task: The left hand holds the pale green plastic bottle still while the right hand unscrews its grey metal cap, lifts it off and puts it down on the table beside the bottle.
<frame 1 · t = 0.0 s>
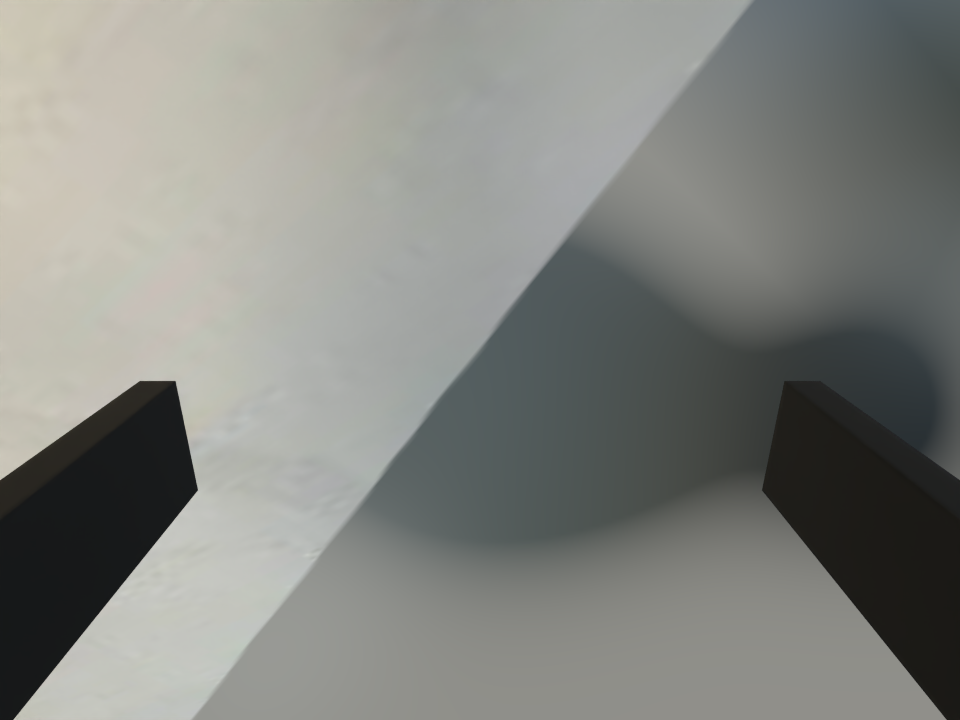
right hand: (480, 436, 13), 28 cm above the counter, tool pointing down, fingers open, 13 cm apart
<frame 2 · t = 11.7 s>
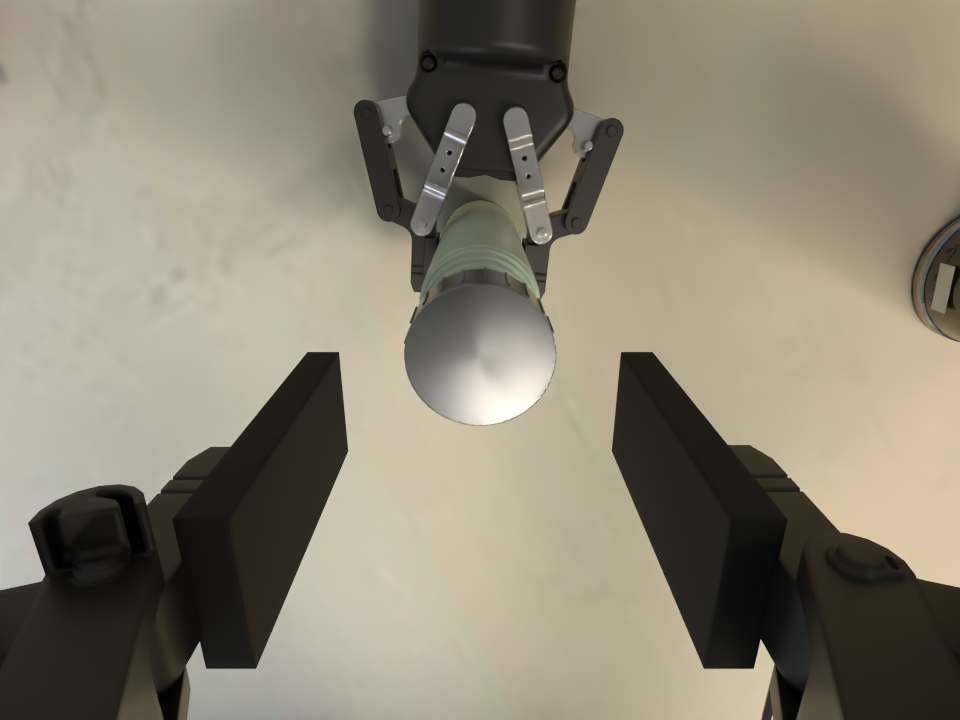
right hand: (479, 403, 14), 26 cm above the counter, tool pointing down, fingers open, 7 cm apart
left hand: (476, 301, 33), fingers closed on bottle, 4 cm apart
cap: (480, 354, 17), point 23 cm above the counter, screwed on, not yet turned
bottle: (480, 237, 39), on the counter, touching left hand
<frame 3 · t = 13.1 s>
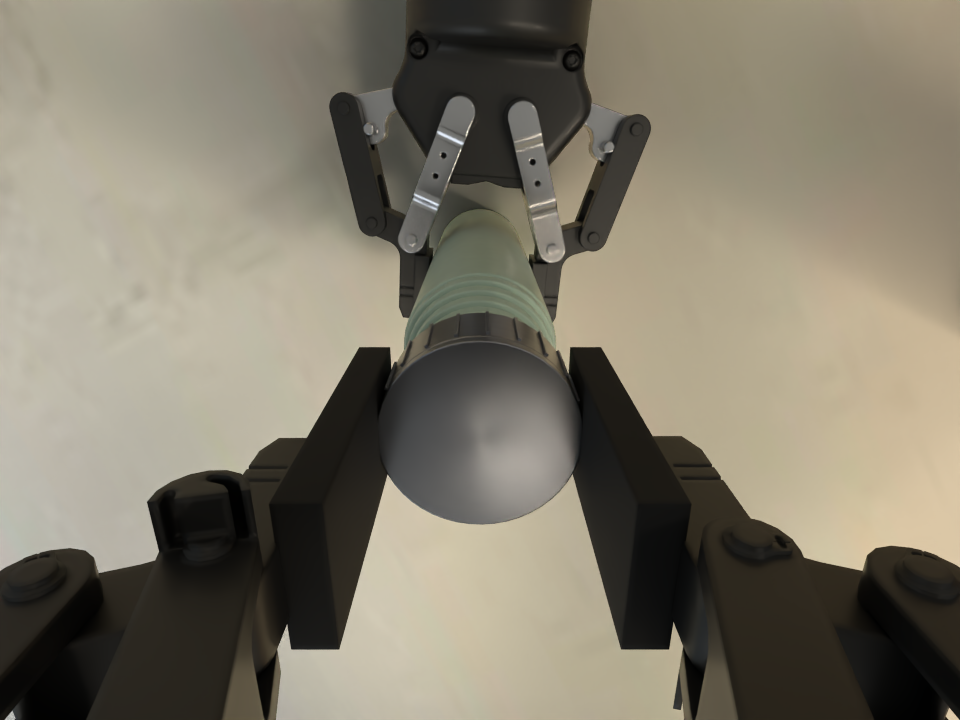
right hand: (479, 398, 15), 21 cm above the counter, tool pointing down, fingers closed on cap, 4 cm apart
left hand: (475, 327, 29), fingers closed on bottle, 4 cm apart
cap: (480, 432, 13), point 23 cm above the counter, screwed on, not yet turned, touching right hand
bottle: (479, 250, 34), on the counter, touching left hand
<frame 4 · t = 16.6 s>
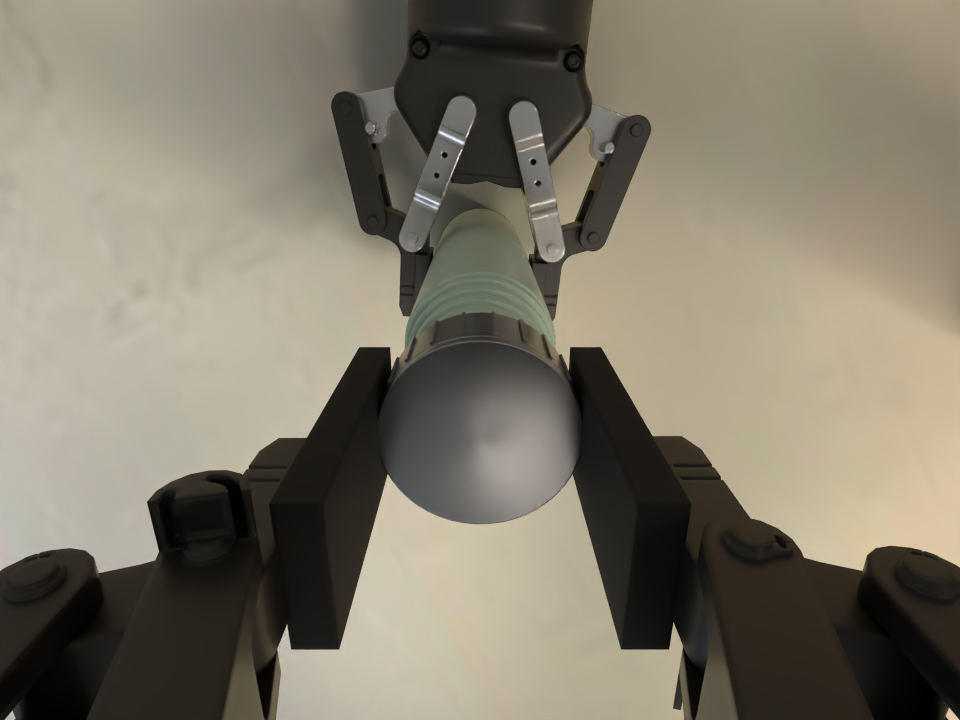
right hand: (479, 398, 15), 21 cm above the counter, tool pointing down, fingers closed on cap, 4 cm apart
left hand: (475, 326, 29), fingers closed on bottle, 4 cm apart
cap: (480, 432, 13), point 23 cm above the counter, turned 117° so far, risen 0.1 cm, still on its thread, touching right hand
bottle: (480, 250, 34), on the counter, touching left hand
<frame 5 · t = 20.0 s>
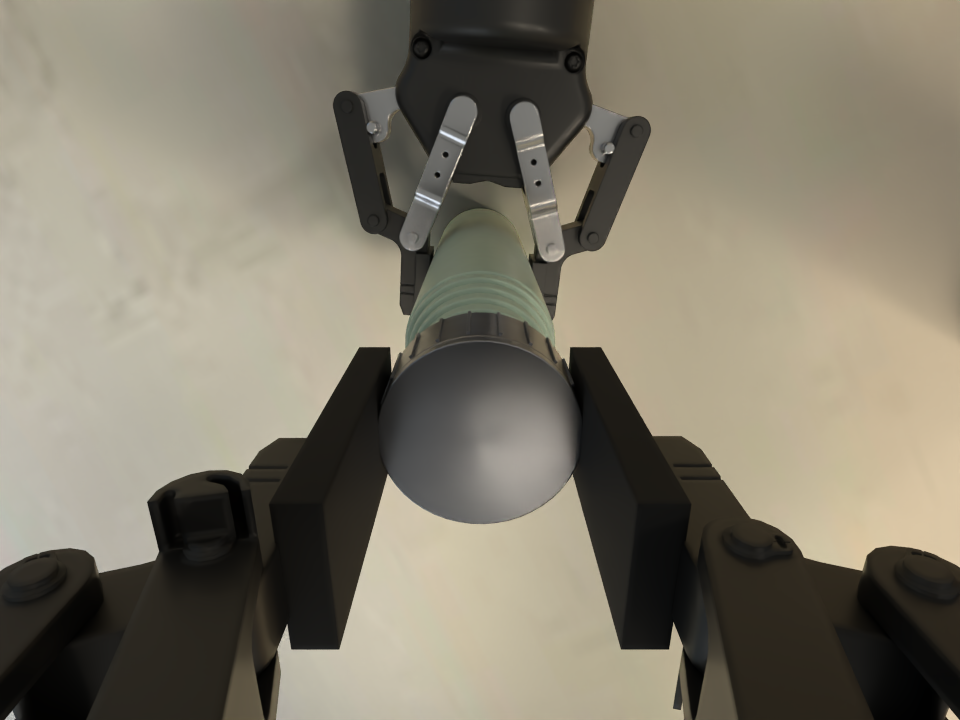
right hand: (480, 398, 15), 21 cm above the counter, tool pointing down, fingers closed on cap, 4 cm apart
left hand: (475, 325, 29), fingers closed on bottle, 4 cm apart
cap: (480, 431, 13), point 23 cm above the counter, turned 234° so far, risen 0.3 cm, still on its thread, touching right hand
bottle: (480, 249, 34), on the counter, touching left hand
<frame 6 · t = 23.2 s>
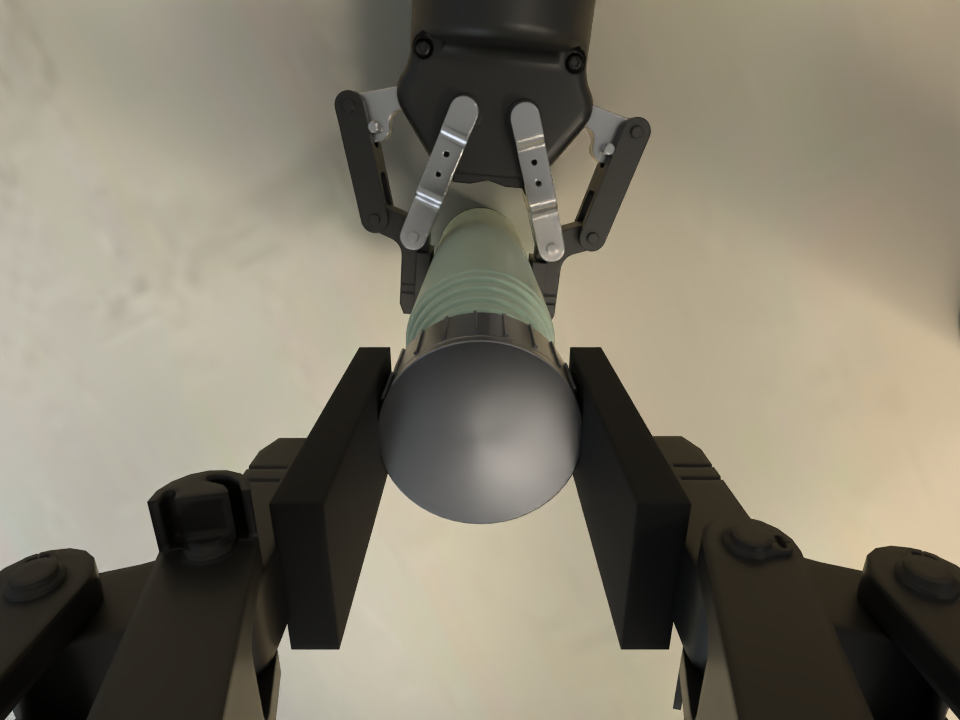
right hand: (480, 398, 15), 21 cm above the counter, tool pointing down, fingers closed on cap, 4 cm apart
left hand: (475, 325, 29), fingers closed on bottle, 4 cm apart
cap: (480, 431, 13), point 23 cm above the counter, turned 351° so far, risen 0.4 cm, still on its thread, touching right hand
bottle: (480, 249, 34), on the counter, touching left hand
when the right hand's fingers open (2 cm above the counter, at t = 30.5 s): cap drops 2 cm, point 2 cm above the counter.
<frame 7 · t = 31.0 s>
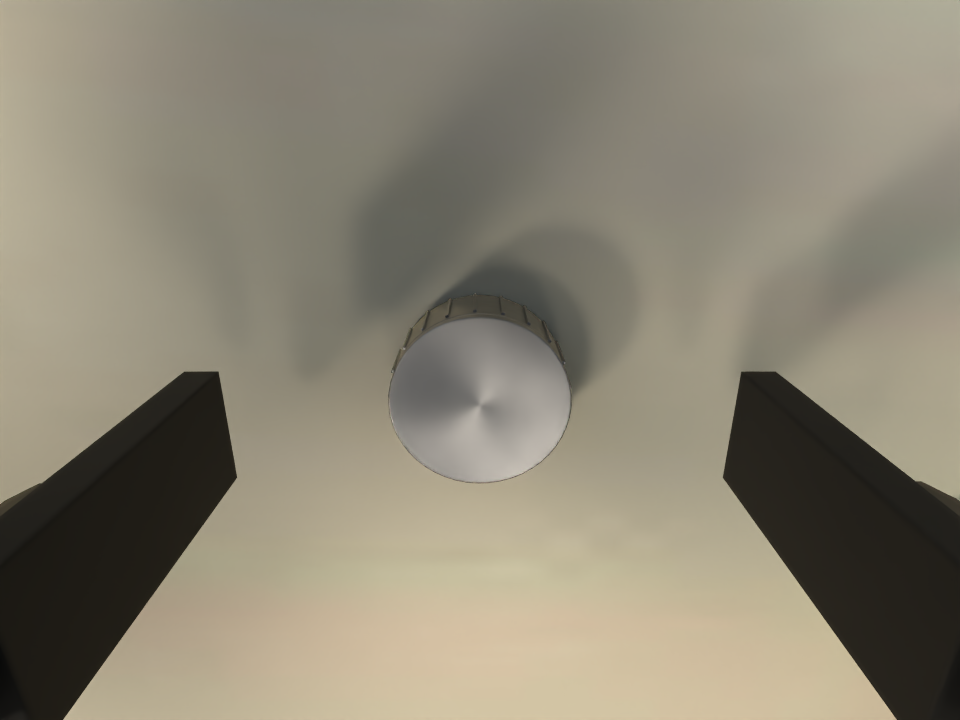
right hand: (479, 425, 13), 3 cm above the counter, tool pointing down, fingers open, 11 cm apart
cap: (480, 400, 15), point 2 cm above the counter, off its thread
when the left hand's fingers open (7 cm above the counter, at t = 31.8 s): bottle stays where it is, on the counter.
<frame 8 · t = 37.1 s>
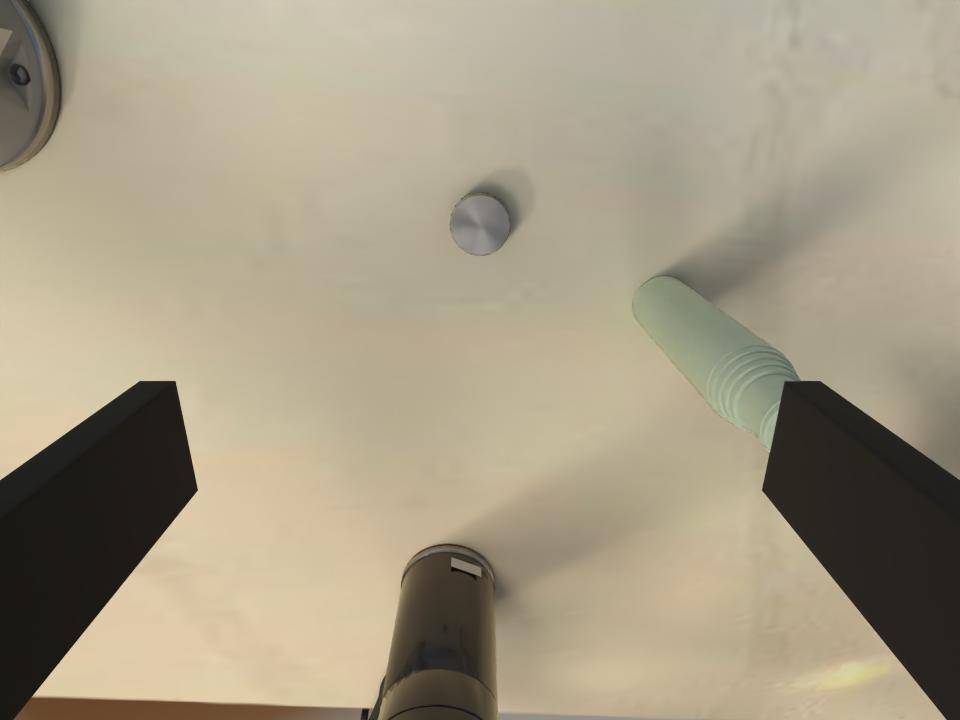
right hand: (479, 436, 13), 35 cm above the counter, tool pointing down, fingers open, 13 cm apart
cap: (480, 225, 44), point 2 cm above the counter, off its thread
bottle: (660, 304, 48), on the counter
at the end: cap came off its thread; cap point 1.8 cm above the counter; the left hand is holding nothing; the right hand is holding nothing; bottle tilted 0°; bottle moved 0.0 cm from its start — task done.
